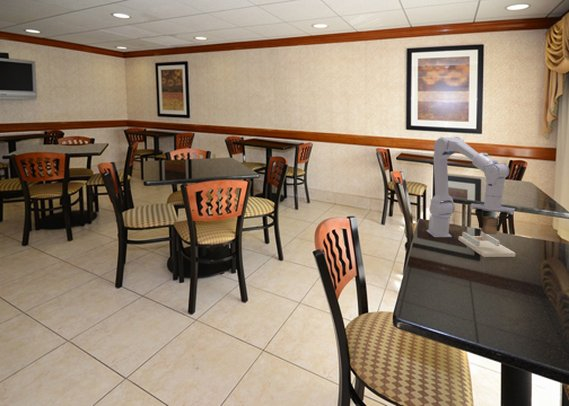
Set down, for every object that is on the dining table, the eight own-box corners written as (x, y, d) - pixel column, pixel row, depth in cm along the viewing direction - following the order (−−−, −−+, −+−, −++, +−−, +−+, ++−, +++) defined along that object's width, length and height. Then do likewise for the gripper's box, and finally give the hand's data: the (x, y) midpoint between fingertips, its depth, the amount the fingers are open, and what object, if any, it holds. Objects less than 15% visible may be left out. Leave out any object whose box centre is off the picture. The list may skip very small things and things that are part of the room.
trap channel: (458, 239, 154) (459, 231, 153) (485, 239, 154) (486, 231, 153) (483, 257, 134) (484, 248, 134) (515, 256, 134) (516, 248, 134)
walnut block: (480, 231, 140) (482, 216, 138) (491, 231, 140) (493, 216, 138) (485, 234, 136) (487, 219, 135) (496, 234, 136) (498, 219, 134)
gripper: (517, 195, 133) (511, 229, 136) (474, 191, 142) (470, 223, 145) (515, 199, 128) (509, 234, 131) (471, 194, 136) (467, 227, 140)
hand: (489, 229), depth 138 cm, fingers closed on walnut block, 5 cm apart
